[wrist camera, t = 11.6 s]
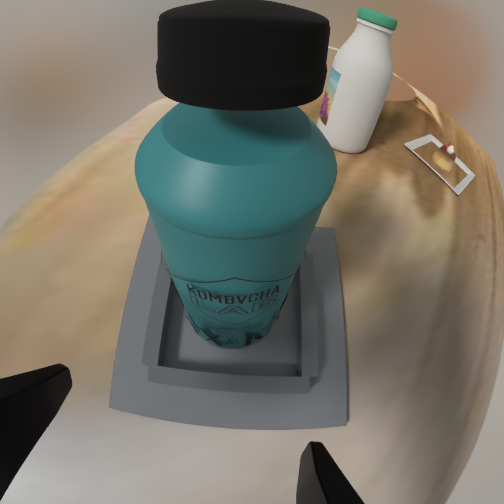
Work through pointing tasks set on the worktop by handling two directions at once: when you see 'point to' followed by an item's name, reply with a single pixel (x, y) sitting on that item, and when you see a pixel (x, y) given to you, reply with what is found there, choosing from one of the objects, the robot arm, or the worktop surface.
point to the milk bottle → (358, 83)
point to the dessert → (442, 160)
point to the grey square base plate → (234, 352)
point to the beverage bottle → (237, 159)
